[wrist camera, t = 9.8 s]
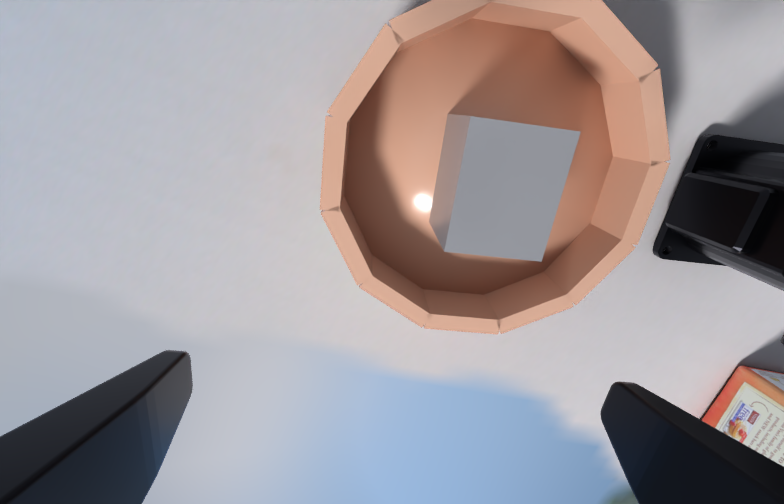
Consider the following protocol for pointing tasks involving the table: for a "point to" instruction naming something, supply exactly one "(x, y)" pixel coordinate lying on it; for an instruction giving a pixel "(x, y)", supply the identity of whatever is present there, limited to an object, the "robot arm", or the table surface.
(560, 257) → the bowl
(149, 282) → the table surface
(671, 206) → the robot arm
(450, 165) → the grey rectangular prism
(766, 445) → the cracker box
